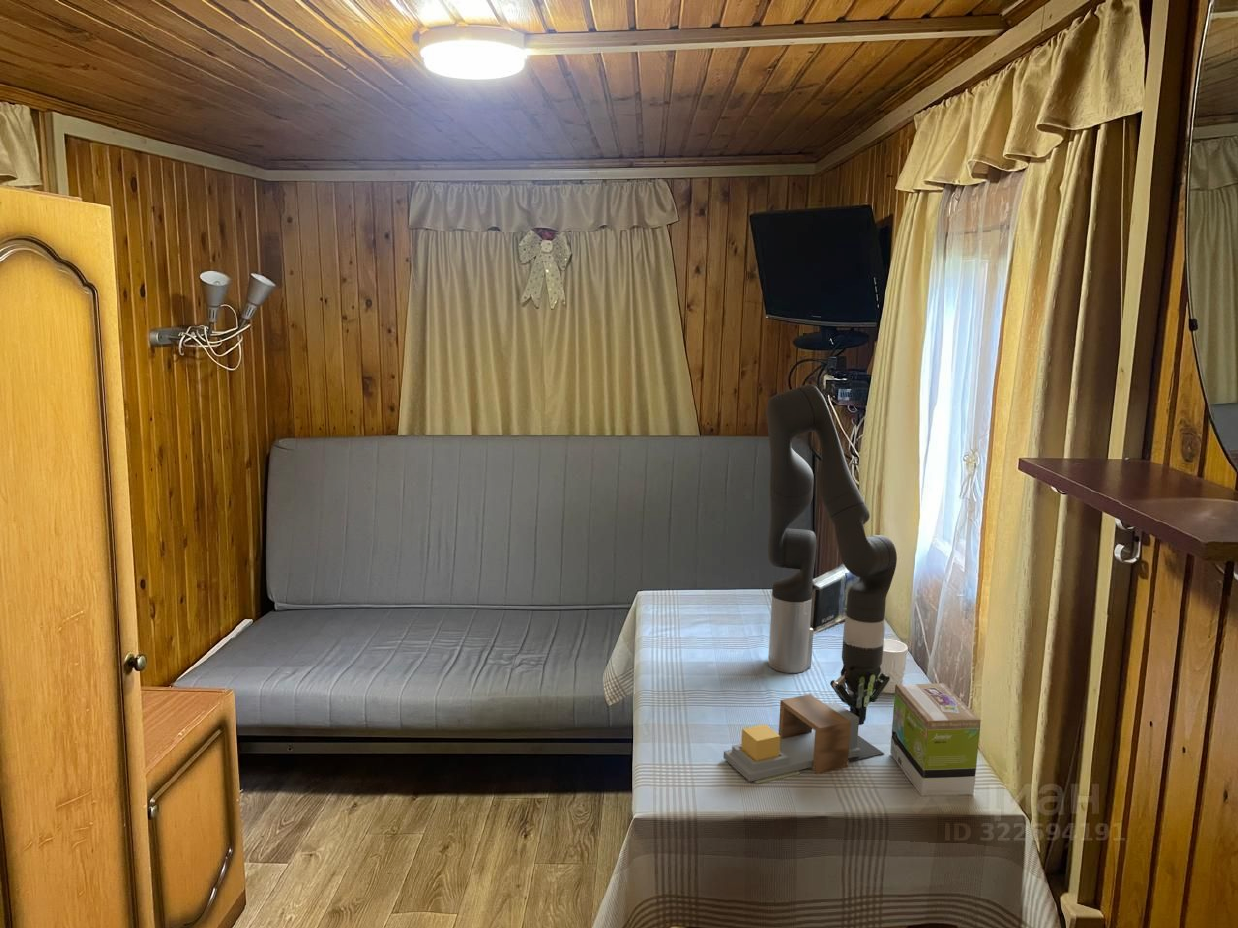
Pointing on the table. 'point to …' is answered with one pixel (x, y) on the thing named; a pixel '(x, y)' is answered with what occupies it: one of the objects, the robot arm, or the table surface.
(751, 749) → the block
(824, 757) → the tunnel
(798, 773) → the mat
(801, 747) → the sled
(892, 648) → the white cup
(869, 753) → the mat
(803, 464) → the robot arm
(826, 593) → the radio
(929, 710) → the tea box
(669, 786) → the table surface
